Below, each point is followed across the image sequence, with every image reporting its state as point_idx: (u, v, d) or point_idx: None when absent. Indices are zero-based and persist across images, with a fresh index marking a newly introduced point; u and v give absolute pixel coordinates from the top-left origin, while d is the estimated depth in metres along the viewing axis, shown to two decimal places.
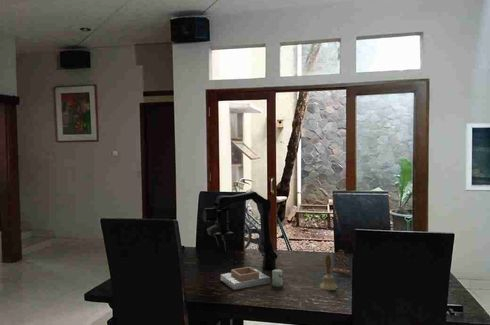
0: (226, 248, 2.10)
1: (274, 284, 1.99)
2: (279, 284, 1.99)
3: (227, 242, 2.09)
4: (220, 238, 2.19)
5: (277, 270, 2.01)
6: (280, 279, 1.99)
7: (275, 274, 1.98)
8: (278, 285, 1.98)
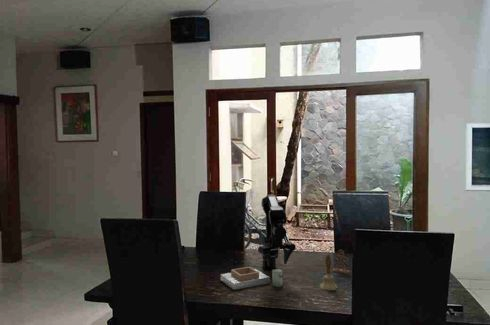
0: (267, 263, 1.98)
1: (274, 284, 1.99)
2: (279, 284, 1.99)
3: (267, 257, 1.98)
4: (286, 255, 2.02)
5: (277, 270, 2.01)
6: (280, 279, 1.99)
7: (275, 274, 1.98)
8: (278, 285, 1.98)
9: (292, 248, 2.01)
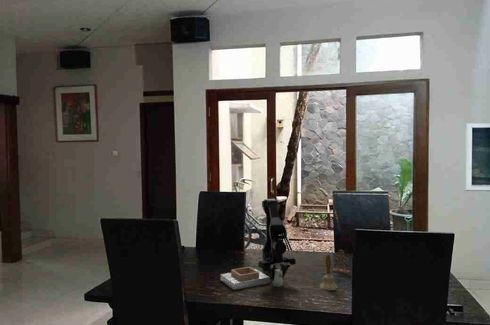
0: (271, 277, 1.99)
1: (274, 284, 1.99)
2: (279, 284, 1.99)
3: (270, 271, 1.99)
4: (283, 270, 2.01)
5: (277, 270, 2.01)
6: (280, 279, 1.99)
7: (275, 274, 1.98)
8: (278, 285, 1.98)
9: (292, 263, 2.01)
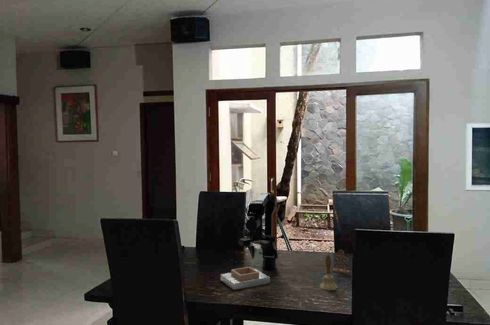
0: (251, 255, 2.02)
1: (254, 262, 2.02)
2: (259, 261, 2.01)
3: (250, 249, 2.01)
4: (262, 248, 2.04)
5: (257, 248, 2.04)
6: (260, 257, 2.02)
7: (255, 252, 2.01)
8: (258, 262, 2.01)
9: (272, 240, 2.04)
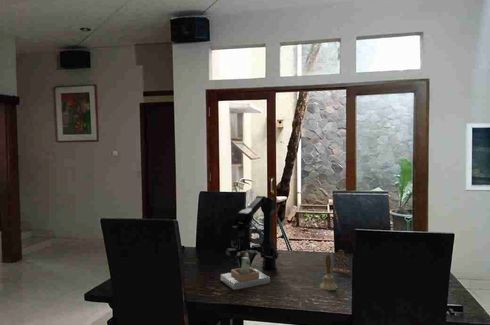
0: None
1: (241, 271, 2.04)
2: (246, 271, 2.04)
3: (238, 259, 2.04)
4: (250, 257, 2.06)
5: (245, 258, 2.06)
6: (248, 267, 2.04)
7: (242, 261, 2.04)
8: (245, 272, 2.04)
9: (259, 250, 2.06)
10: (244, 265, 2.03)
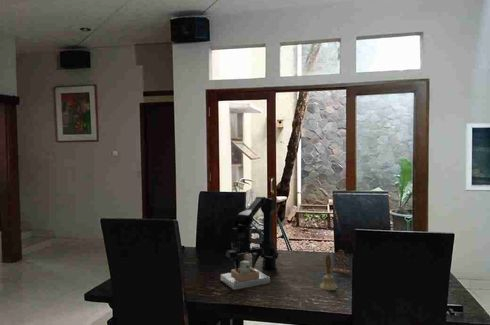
0: (235, 267, 2.04)
1: None
2: None
3: (234, 261, 2.03)
4: (253, 259, 2.07)
5: (245, 261, 2.07)
6: (248, 270, 2.04)
7: (242, 265, 2.04)
8: None
9: (259, 252, 2.06)
10: (244, 269, 2.03)
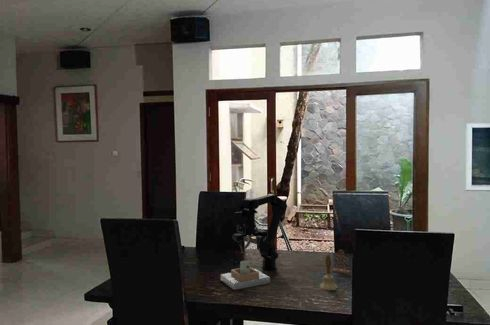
0: (241, 249, 2.14)
1: None
2: None
3: (240, 244, 2.13)
4: (258, 241, 2.18)
5: (245, 261, 2.07)
6: (248, 270, 2.04)
7: (242, 265, 2.04)
8: None
9: (264, 235, 2.17)
10: (244, 269, 2.03)
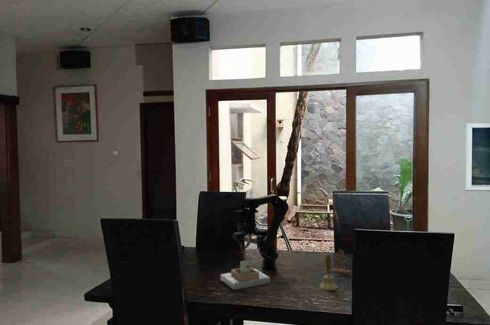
0: (241, 248, 2.15)
1: None
2: None
3: (240, 243, 2.14)
4: (258, 241, 2.19)
5: (245, 261, 2.07)
6: (248, 270, 2.04)
7: (243, 265, 2.04)
8: None
9: (264, 234, 2.17)
10: (244, 269, 2.03)
